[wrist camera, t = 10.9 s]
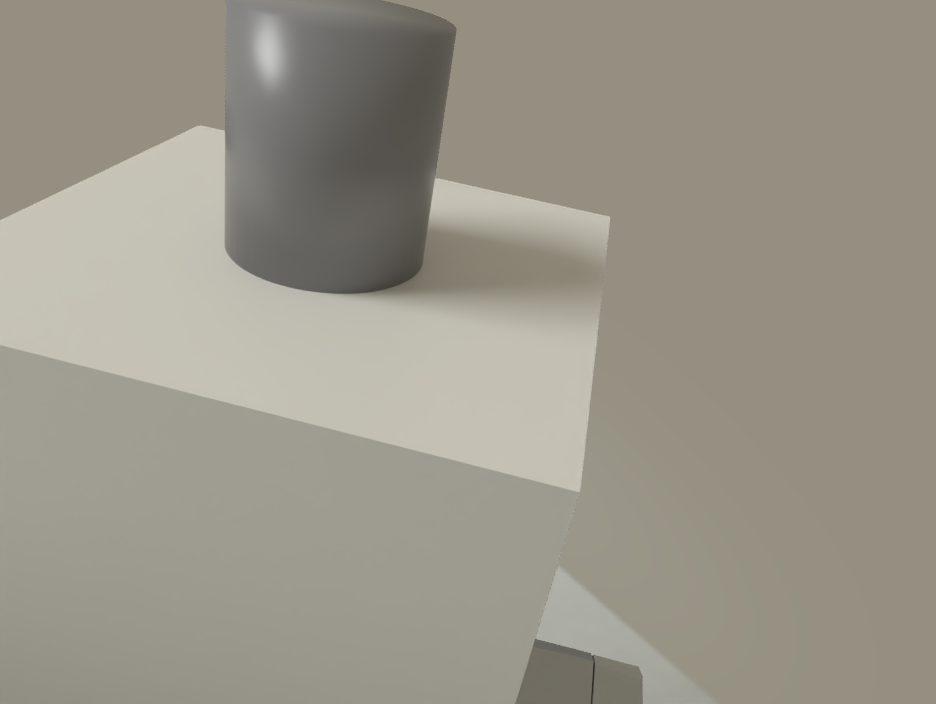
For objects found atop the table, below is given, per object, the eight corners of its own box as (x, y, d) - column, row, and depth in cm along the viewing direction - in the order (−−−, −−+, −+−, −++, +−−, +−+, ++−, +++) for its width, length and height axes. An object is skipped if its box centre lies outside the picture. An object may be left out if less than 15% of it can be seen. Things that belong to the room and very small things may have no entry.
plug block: (61, 1118, 10) (-265, -34, 3) (208, 815, 14) (196, -61, 7) (357, 1219, 10) (680, 171, 3) (431, 882, 13) (660, 32, 6)
